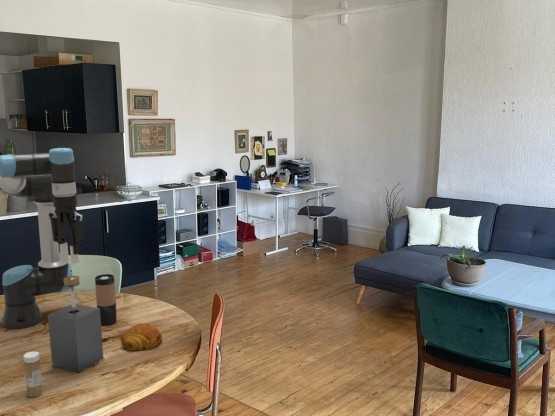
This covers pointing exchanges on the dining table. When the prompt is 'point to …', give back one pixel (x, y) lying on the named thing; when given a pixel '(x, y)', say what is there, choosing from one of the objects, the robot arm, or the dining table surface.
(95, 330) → the grey peg holder block
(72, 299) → the plunger
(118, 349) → the dining table surface
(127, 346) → the croissant
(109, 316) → the travel mug
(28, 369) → the sprinkles bottle
